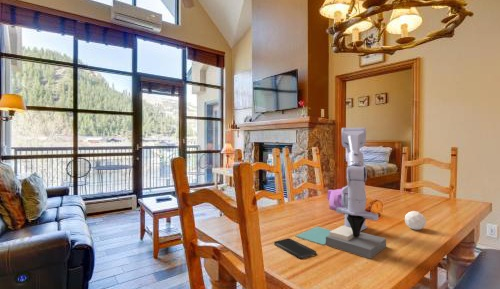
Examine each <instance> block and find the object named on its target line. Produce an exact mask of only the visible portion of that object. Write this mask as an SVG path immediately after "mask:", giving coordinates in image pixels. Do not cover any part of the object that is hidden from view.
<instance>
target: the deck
mask: <svg viewBox="0 0 500 289" xmlns="http://www.w3.org/2000/svg"><path fill="white" fill-rule="evenodd" d="M325 245H326V246H328V247H331V248H334V249H336V250H337V249H338V250H341V251H344V252H347V253H350V254H354V255H357V256H360V257H363V258H366V259H369V260H371V259H372V258H374V257H375V256H376V255H377V254H379V253H380V252H381V251H383V250H384V249H385V248H386V247H387V238H386V237H382V236H377V235H374V234H370V233H366V232H362V231H360V235H359V236H358V237H353V238H352V239H350V240H348V241H346V240H343V239H339V238H336V237H332V236H330V235H328V236H326V244H325Z"/></svg>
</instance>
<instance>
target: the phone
mask: <svg viewBox="0 0 500 289" xmlns="http://www.w3.org/2000/svg"><path fill="white" fill-rule="evenodd" d="M273 244H274V246H276V247H277V248H279V249H281V250H282V251H285V252H286V253H288V254H289V255H291V256H293V257H295V258H296V259H299V260H304V259H307V258H310V257H314V256H317V250H314V249H312V248H310V247H308V246H307V245H304V244H303V243H300V242H298V241H296V240H294V239H292V238H290V237H289V238H285V239H284V238H282V239H279V240H276V241H274V243H273Z"/></svg>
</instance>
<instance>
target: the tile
mask: <svg viewBox="0 0 500 289" xmlns="http://www.w3.org/2000/svg"><path fill="white" fill-rule="evenodd" d="M331 230H332V231H330V236H332V237H336V238H339V239H343V240H346V241H348V240H350V239H352V238H353V237H354V236H353V232H352V228H350V227H346V226H344V225H340V226H339V227H337V228H335V229H331Z"/></svg>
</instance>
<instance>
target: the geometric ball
mask: <svg viewBox="0 0 500 289" xmlns="http://www.w3.org/2000/svg"><path fill="white" fill-rule="evenodd" d="M404 216H405V217H404V222H405V225H406V226H407V227H409V228H410V229H411V230H414V231H419V230H422V229H424V228H425V226H426V225H427V224H426V223H427V220H426V217H425V215H423V214H422V213H421V212H419V211H417V210H416V211H415V210H412V211H409V212H407V213H406V214H405V215H404Z"/></svg>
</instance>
